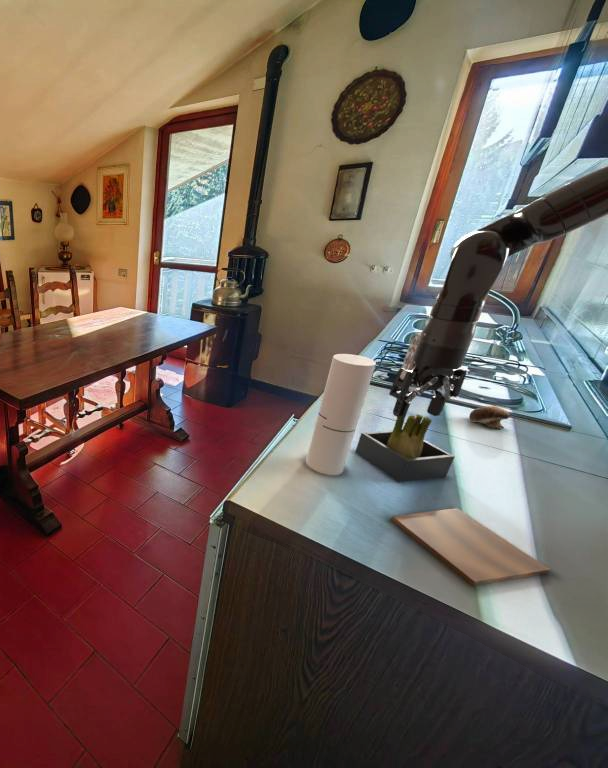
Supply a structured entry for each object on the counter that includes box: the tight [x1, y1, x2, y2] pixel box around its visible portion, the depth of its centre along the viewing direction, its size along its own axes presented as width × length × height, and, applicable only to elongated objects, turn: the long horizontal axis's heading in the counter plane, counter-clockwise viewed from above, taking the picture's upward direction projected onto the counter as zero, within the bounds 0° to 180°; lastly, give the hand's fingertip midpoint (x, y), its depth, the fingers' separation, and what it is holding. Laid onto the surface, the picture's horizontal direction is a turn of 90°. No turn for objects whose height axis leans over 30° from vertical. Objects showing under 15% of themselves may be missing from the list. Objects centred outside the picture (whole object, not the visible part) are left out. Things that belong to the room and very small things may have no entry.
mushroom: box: [468, 405, 511, 430], centre depth 104 cm, size 8×8×6 cm
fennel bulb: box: [387, 414, 433, 459], centre depth 84 cm, size 6×5×12 cm
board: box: [390, 507, 551, 587], centre depth 64 cm, size 14×14×1 cm
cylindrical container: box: [305, 353, 377, 476], centre depth 81 cm, size 7×7×25 cm
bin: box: [355, 429, 455, 483], centre depth 85 cm, size 12×12×6 cm
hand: (415, 415), depth 82 cm, fingers open, 8 cm apart
